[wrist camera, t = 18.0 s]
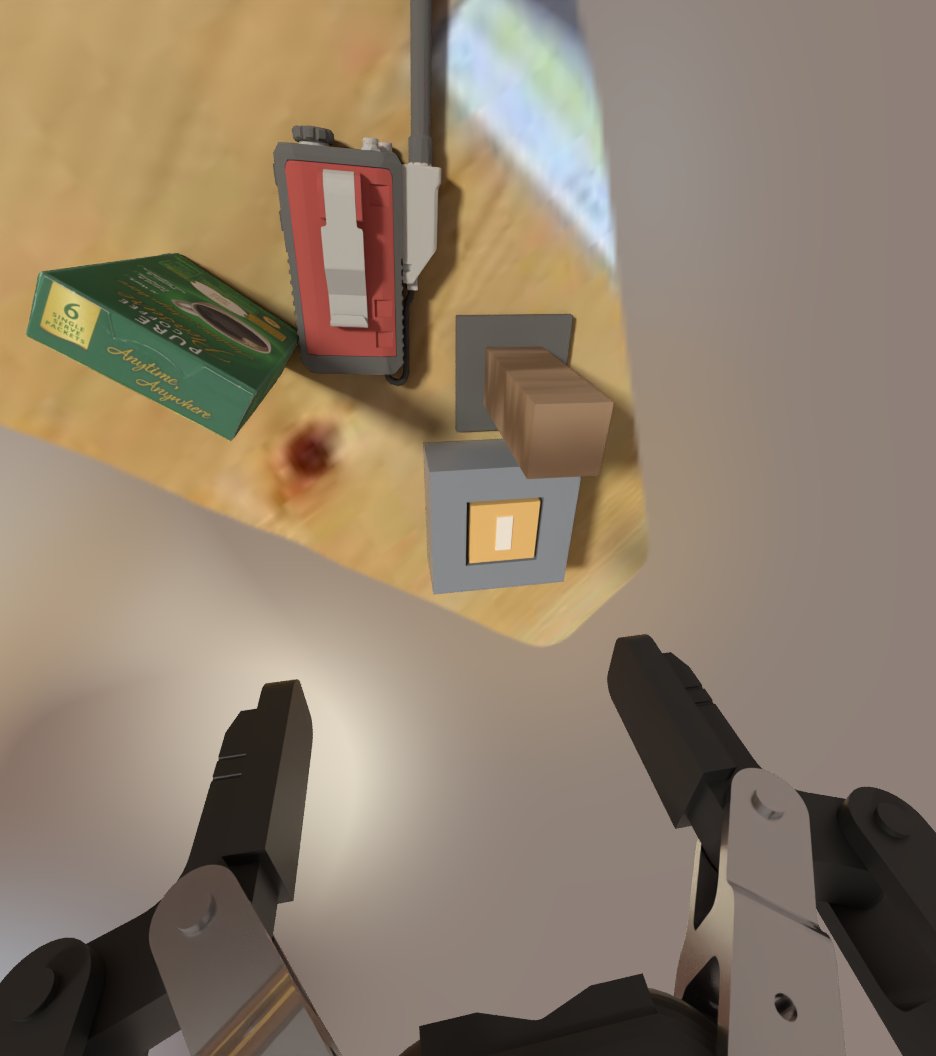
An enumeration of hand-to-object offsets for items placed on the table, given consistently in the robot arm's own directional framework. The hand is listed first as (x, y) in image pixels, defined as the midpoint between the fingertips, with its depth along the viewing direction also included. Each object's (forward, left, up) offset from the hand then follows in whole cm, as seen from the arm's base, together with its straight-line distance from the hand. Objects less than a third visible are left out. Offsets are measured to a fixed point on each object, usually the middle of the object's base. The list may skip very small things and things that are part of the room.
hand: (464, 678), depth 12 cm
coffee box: (-5, -11, -26) cm, 29 cm away
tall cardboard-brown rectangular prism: (0, +7, -25) cm, 26 cm away
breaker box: (+10, +6, -26) cm, 29 cm away
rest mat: (0, +7, -26) cm, 27 cm away
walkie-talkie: (-10, -2, -26) cm, 28 cm away
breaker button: (+10, +6, -25) cm, 28 cm away
